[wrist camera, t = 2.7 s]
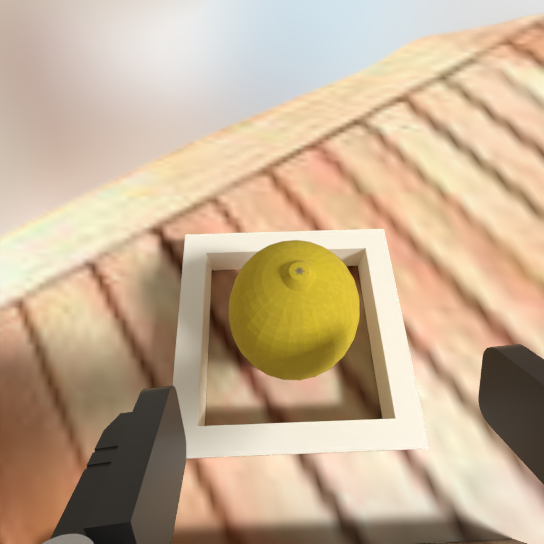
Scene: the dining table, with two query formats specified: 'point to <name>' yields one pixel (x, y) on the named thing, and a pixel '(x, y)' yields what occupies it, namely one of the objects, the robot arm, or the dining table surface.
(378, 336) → the holder frame
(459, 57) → the dining table surface
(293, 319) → the lemon
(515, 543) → the walnut tray
